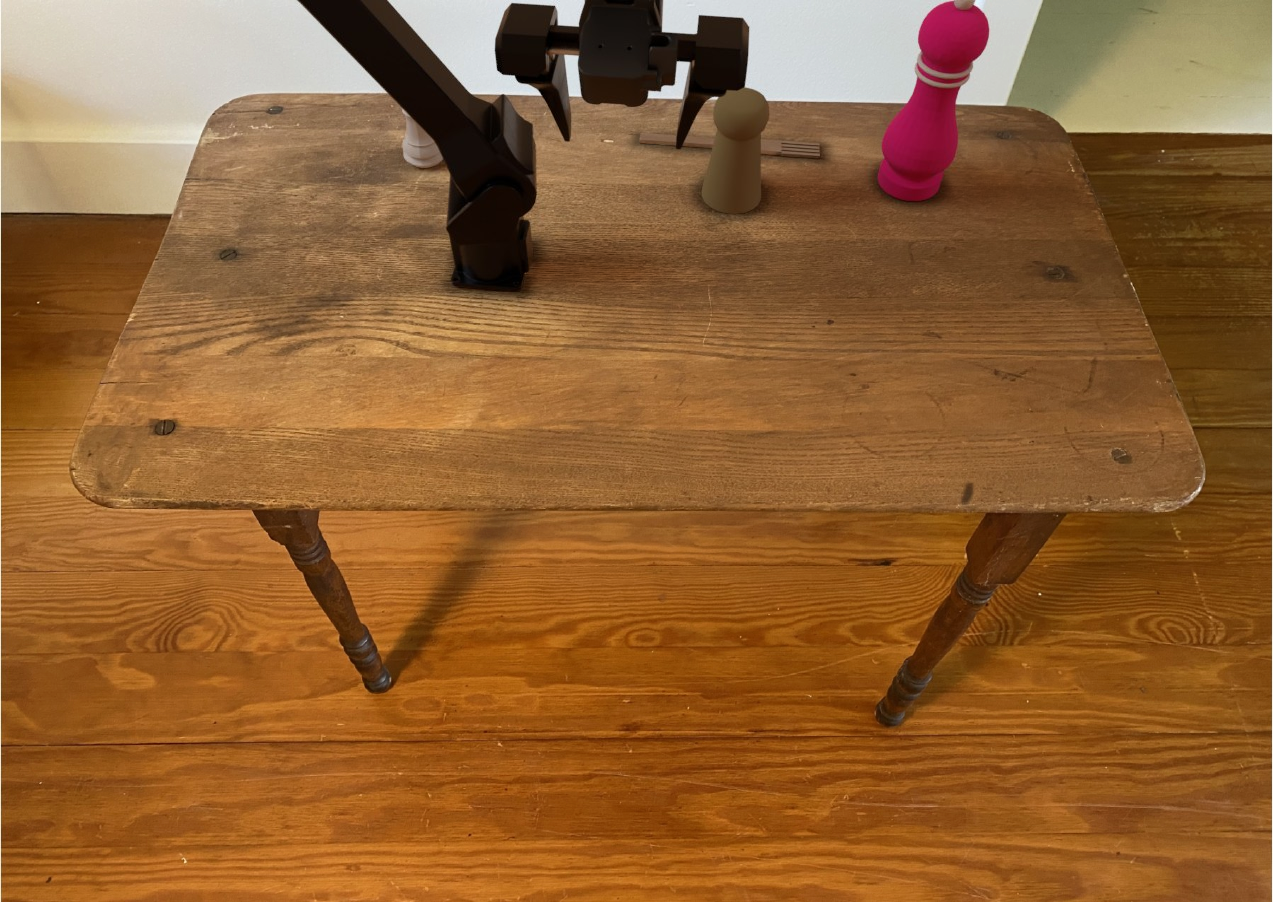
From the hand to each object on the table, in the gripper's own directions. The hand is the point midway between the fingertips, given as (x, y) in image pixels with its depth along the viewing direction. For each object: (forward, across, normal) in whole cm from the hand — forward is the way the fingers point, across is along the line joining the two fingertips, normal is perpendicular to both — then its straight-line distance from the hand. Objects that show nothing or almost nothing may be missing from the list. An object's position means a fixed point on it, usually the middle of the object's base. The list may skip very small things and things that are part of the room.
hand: (623, 142), depth 76 cm
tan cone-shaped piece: (+13, +10, +11) cm, 20 cm away
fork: (+13, +10, +19) cm, 25 cm away
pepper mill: (+13, +28, +15) cm, 34 cm away
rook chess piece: (+13, -22, +13) cm, 29 cm away
